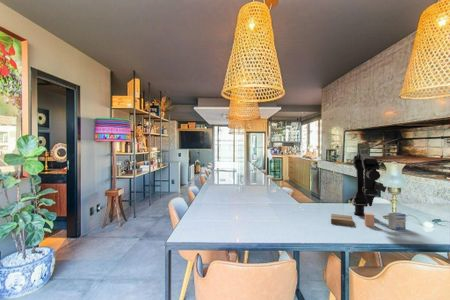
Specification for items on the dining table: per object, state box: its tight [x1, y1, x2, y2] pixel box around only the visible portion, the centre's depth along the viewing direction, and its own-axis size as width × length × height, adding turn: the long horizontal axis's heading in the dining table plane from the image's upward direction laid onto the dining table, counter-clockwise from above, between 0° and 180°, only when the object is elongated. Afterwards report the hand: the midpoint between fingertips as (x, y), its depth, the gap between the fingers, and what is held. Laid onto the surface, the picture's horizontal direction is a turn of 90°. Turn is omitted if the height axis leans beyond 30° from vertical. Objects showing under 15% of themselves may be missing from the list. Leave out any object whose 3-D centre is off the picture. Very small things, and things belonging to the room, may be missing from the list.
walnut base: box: [330, 213, 354, 227], centre depth 152 cm, size 12×12×3 cm
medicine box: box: [387, 212, 407, 231], centre depth 141 cm, size 8×4×9 cm, turn 105°
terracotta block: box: [364, 212, 375, 228], centre depth 146 cm, size 4×4×7 cm
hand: (369, 204), depth 145 cm, fingers open, 9 cm apart
